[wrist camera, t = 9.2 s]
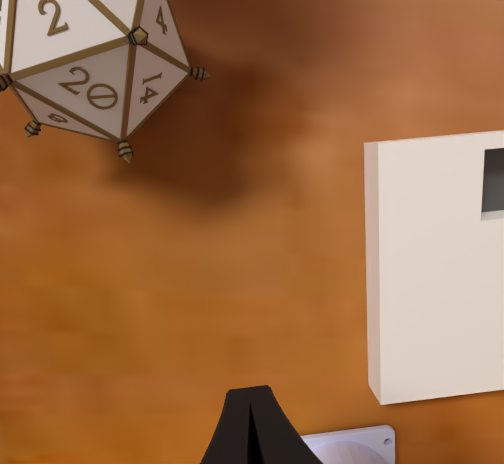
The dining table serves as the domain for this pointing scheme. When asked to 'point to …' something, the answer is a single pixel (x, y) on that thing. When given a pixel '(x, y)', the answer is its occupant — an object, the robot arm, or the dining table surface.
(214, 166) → the dining table surface
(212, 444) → the robot arm
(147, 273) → the dining table surface
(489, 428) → the dining table surface
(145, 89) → the game die
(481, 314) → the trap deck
